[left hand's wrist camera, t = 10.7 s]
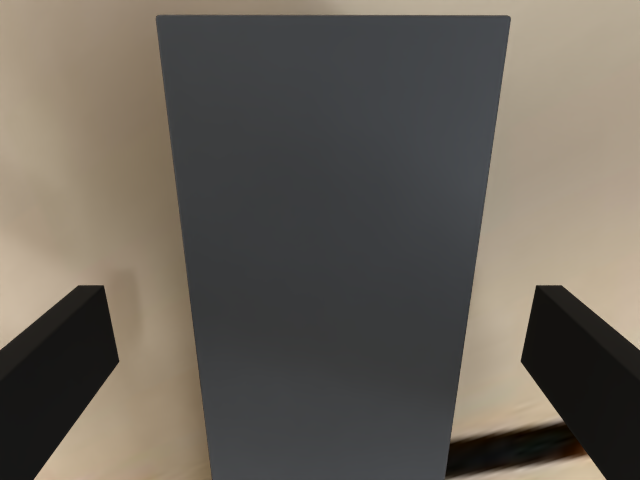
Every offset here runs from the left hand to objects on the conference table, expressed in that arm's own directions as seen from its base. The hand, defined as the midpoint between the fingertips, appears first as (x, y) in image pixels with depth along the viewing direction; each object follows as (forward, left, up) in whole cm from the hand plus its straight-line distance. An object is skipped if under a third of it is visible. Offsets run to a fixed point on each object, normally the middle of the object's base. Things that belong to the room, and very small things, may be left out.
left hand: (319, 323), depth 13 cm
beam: (+21, +9, -4) cm, 23 cm away
